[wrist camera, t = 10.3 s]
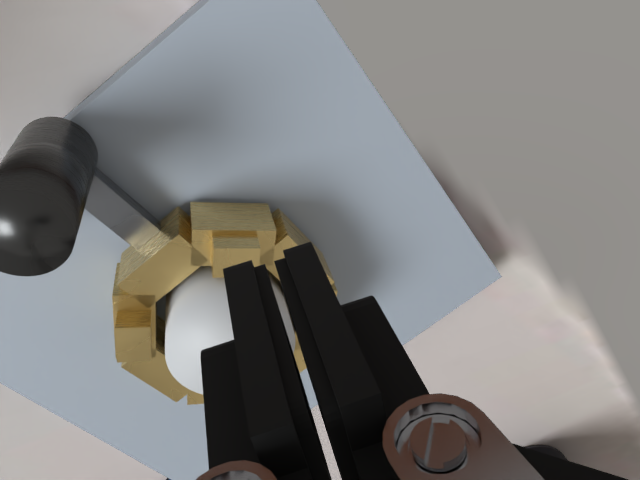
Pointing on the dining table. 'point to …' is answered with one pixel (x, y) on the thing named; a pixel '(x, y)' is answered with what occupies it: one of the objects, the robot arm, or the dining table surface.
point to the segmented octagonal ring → (127, 238)
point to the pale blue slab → (234, 187)
